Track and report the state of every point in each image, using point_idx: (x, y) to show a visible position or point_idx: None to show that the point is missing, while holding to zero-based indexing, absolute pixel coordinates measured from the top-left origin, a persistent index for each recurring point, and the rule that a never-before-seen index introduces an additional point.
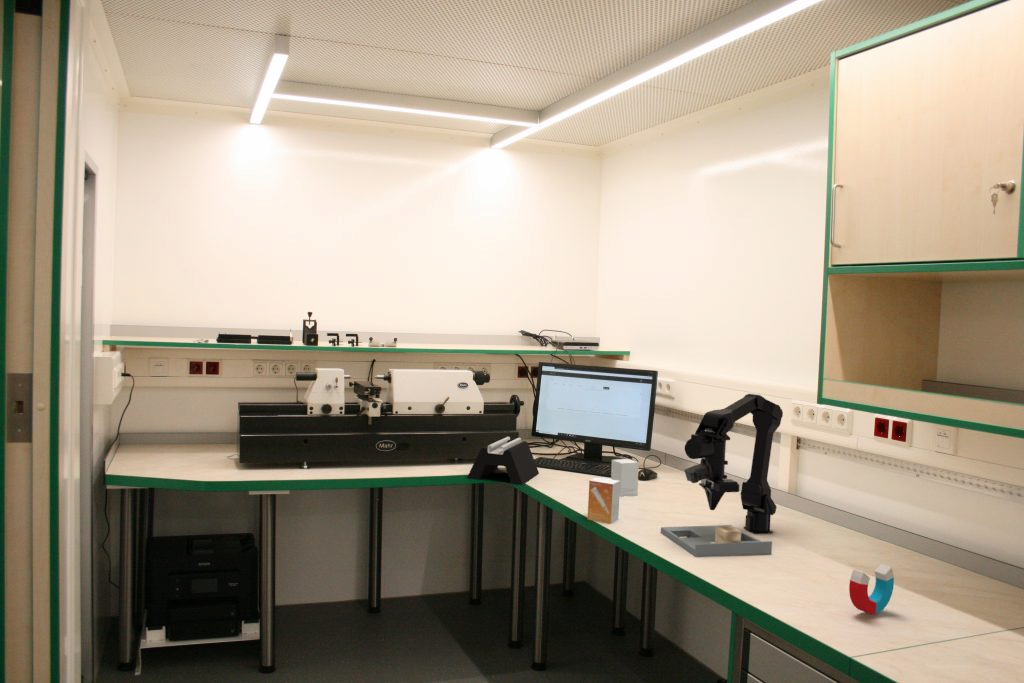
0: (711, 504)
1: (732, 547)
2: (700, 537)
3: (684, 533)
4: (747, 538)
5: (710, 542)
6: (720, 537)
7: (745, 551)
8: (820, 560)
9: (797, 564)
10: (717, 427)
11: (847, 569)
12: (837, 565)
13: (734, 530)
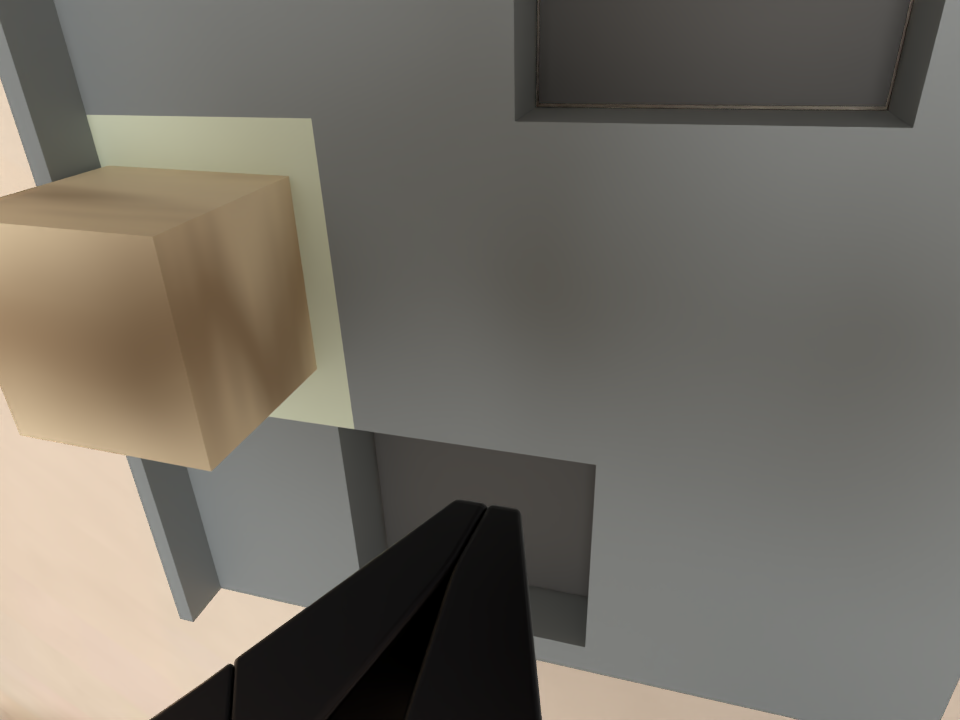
0: (354, 573)
1: None
2: (507, 98)
3: (926, 8)
4: None
5: (291, 121)
6: (102, 193)
7: None
8: (164, 692)
9: (70, 545)
10: None
11: (53, 690)
12: (101, 698)
13: (31, 384)
